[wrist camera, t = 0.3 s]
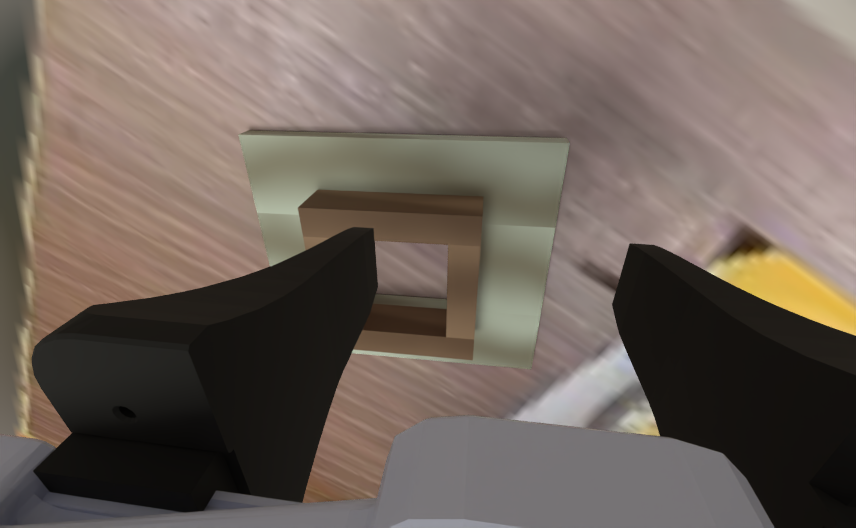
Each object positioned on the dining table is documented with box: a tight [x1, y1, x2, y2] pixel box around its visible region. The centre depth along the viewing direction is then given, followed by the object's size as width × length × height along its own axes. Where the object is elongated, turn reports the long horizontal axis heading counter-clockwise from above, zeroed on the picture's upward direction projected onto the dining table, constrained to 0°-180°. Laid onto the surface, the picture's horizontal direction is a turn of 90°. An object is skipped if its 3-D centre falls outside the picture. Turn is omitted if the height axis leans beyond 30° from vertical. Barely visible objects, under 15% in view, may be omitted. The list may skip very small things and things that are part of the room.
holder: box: [239, 130, 570, 369], centre depth 22 cm, size 14×16×4 cm
